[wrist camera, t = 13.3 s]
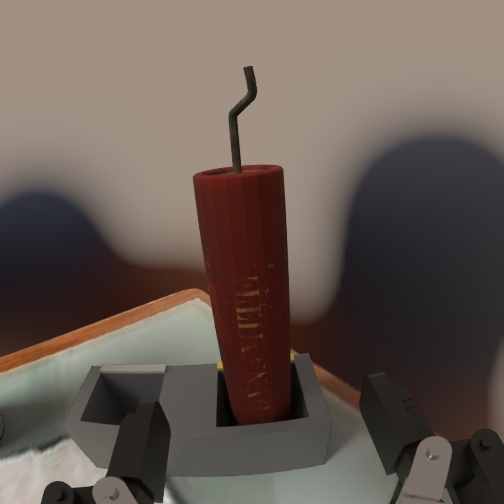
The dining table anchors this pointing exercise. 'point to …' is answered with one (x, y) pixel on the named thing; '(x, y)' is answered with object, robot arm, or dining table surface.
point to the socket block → (201, 419)
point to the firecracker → (248, 278)
